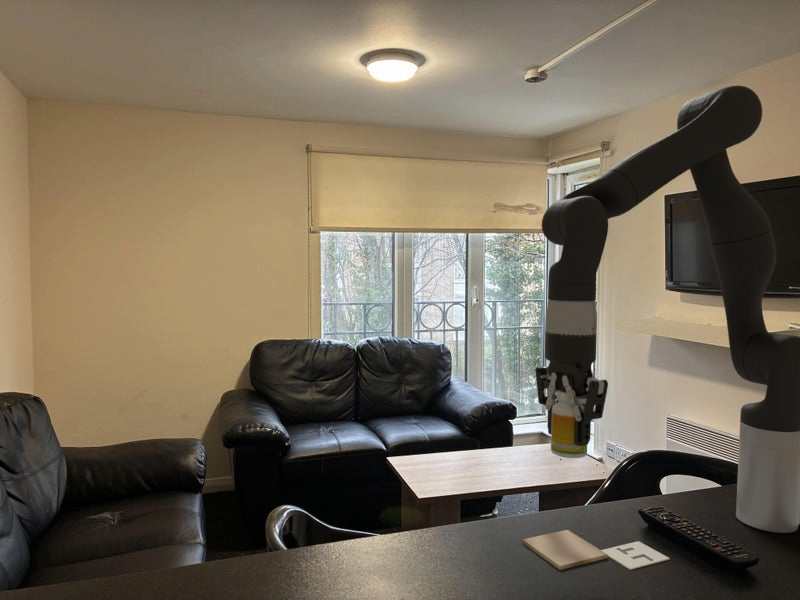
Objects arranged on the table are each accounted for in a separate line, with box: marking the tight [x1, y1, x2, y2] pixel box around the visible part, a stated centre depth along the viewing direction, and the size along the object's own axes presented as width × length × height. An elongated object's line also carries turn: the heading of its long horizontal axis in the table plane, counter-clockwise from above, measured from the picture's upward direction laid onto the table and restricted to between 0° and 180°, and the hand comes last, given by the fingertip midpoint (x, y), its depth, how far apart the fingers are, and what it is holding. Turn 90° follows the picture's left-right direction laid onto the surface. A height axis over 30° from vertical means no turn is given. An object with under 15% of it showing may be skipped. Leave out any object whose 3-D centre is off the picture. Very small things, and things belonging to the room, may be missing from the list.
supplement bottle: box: [550, 390, 588, 459], centre depth 89 cm, size 5×5×10 cm
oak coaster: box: [522, 529, 608, 571], centre depth 90 cm, size 9×9×1 cm
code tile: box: [600, 541, 670, 571], centre depth 89 cm, size 8×6×1 cm
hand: (567, 438), depth 89 cm, fingers closed on supplement bottle, 5 cm apart
